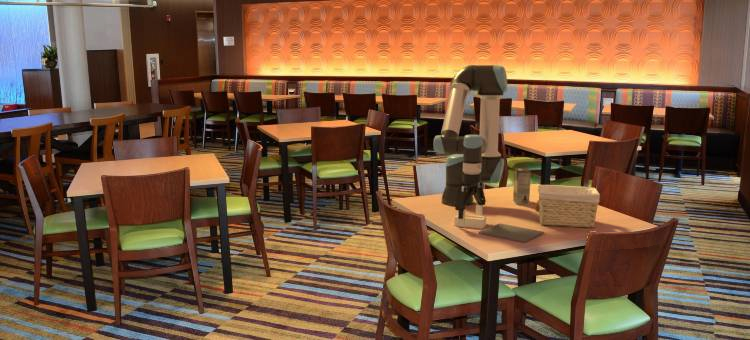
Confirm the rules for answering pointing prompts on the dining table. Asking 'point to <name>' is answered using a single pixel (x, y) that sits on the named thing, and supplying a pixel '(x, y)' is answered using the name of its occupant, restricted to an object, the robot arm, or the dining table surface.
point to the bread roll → (537, 205)
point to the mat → (512, 233)
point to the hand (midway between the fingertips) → (470, 223)
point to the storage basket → (568, 205)
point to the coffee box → (521, 186)
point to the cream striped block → (472, 221)
